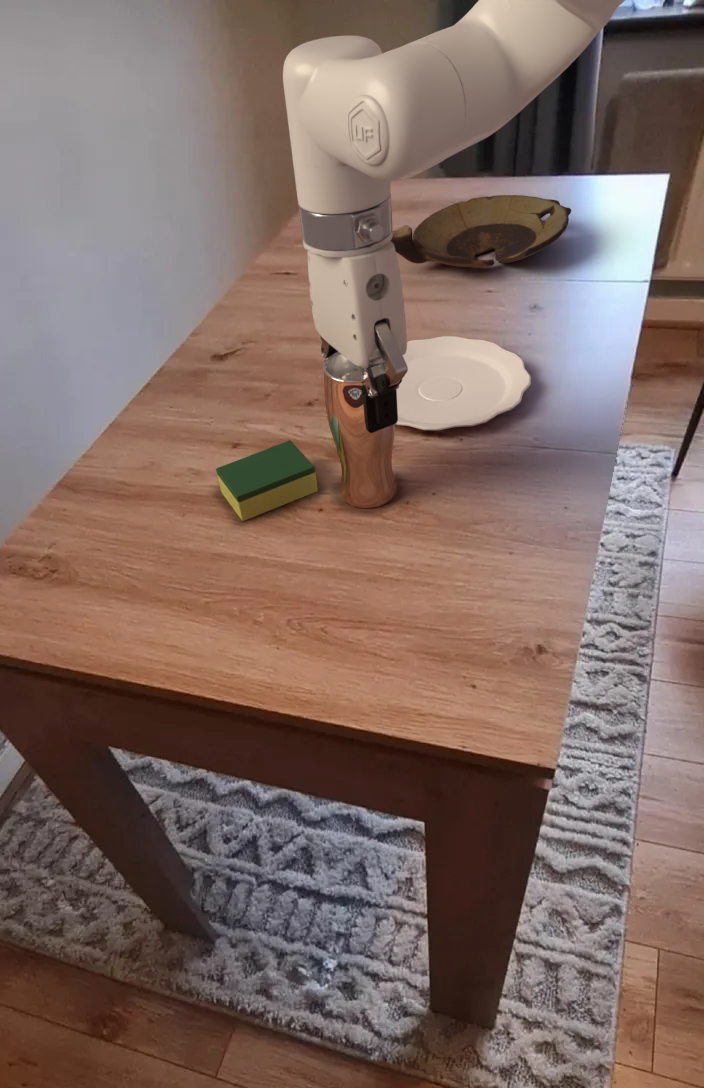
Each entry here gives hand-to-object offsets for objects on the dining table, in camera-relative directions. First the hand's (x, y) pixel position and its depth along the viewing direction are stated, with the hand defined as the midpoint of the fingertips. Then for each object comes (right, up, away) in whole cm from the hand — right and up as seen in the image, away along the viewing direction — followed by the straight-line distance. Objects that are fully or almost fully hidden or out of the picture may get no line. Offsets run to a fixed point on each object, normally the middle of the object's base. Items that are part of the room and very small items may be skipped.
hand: (362, 407), depth 78 cm
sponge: (-10, -7, +9) cm, 15 cm away
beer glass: (+1, -7, +7) cm, 10 cm away
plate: (+11, +7, +20) cm, 23 cm away
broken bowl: (+19, +34, +46) cm, 60 cm away
